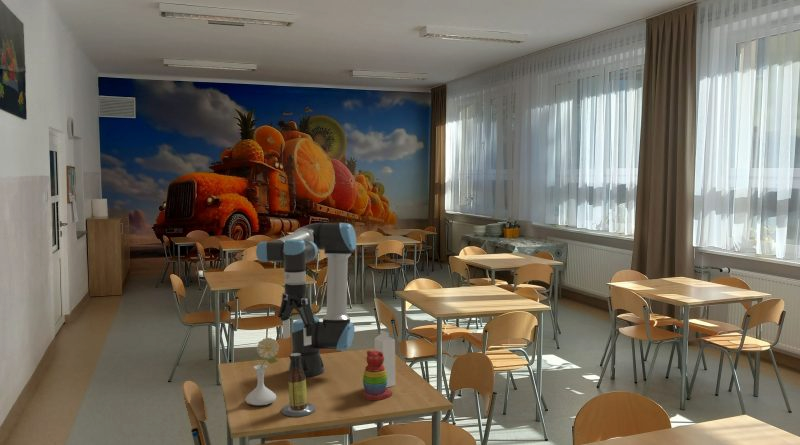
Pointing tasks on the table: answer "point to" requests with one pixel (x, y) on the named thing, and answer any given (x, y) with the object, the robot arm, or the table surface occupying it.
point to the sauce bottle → (297, 383)
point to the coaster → (298, 411)
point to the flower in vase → (261, 393)
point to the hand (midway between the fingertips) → (296, 341)
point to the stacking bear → (375, 377)
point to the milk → (387, 355)
